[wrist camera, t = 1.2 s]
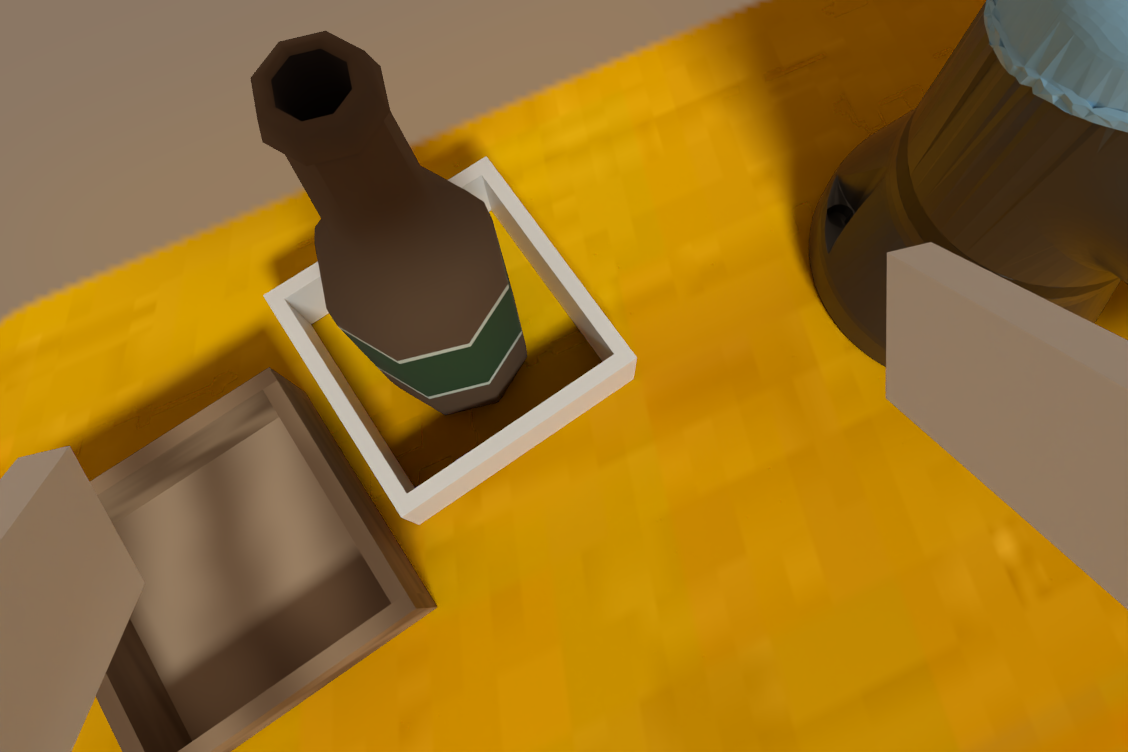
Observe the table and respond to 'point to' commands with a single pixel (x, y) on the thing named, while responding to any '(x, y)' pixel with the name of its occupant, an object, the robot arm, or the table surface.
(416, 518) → the white corral
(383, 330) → the beer bottle
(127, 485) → the wooden bin
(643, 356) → the table surface
